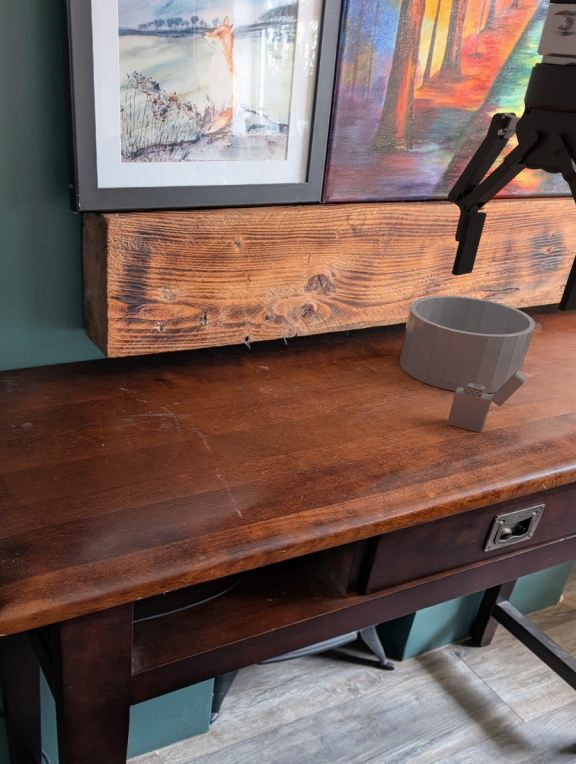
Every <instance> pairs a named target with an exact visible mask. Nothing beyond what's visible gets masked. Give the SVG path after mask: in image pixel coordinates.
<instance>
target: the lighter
mask: <svg viewBox="0 0 576 764" xmlns="http://www.w3.org/2000/svg"><path fill="white" fill-rule="evenodd" d="M527 378H528V377H527V375H525V374H524V373H522V371H521V372H520V371H518V370H517V371H516V372H515V373H514V374H513V375H512V376H511V377H510V378H509V379H508V380H507V382H506V383H505V384H504V385H503V386H502V387H501V388H500V389H499V390H498V391H497V392H496V393H493V395H492V394H491V393H484V390H485V386H481V385H476V384H472V383H470V384H467V385H465V386H464V387H463V388H461V387H458V388H457V390H456V391H454V395H453V398H452V403H451V406H450V407H451V408H450V411H449V414H448V417H447V422H446V424H447V425H450V426H453V427H458V428H460V429H464V430H468V431H472V432H476V433H483V430H484V428H485V425H486V421H487V419H488V416H489V415H488V414H489V411H490V408H491V404H492V402H493V403H494V404H495V405H496V406H497V407H499V408H500V407H501V406H503V405H504V404H505V403H506V402H507V400H509V398H511V396H513V394H514V393H516V392H517V390H518V389H520V388H521V386H522V385H523V384H524V383H525V382H526V381H527Z"/></svg>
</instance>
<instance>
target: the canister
mask: <svg viewBox="0 0 576 764" xmlns="http://www.w3.org/2000/svg"><path fill="white" fill-rule="evenodd" d="M535 327H536V322H535V320H534V319H533V317H531V315H529V314H527V313H526V312H524V311H522V310H520V309H518V308H516V307H512V306H510V305H507V304H504V303H501V302H497V301H493V300H489V299H485V298H479V297H471V296H461V295H433V296H426V297H422V298H419V299H416V300H415V301H413V302H412V303H411V304H410V306H409V310H408V315H407V319H406V323H405V329H404V334H403V338H402V343H401V348H400V352H399V354H400V355H399V359H398V364H399V366H400V367H401V370H403V371H404V373H406V374H407V375H409V376H410V377H412V378H413V379H415V380H417V381H420V382H422V383H424V384H427V385H429V386H432V387H436V388H439V389H443V390H447V391H453V392H455V391H456V390H457V388H458V387H461V388H463V387H464V386H465V385H467V384H470V383H472V384H476V385H481V386H485V390H484V393H486V394H495V393H496V392H497V391H498V390H499V389H500V388H501V387H502V386H503V385H504V384H505V383H506V382H507V380H508V379H509V378H510V377H511V376H512V375H513V374H514V373H515V372H516V371H517V370H518V371H520V372H521V373H522V369H523V366H524V363H525V359H526V356H527V354H528V350H529V348H530V343H531V340H532V337H533V334H534V330H535Z"/></svg>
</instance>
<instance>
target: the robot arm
mask: <svg viewBox="0 0 576 764" xmlns="http://www.w3.org/2000/svg"><path fill="white" fill-rule="evenodd" d="M536 53H537V54H538V56H542V58H541V60H540V62H535V64H534V66H532V67H531V71H530V75H529V80H528V82H527V87H526V91H525V95H524V98H523V105H524V110H523V113H522V115H521V116H517V113H515V112H496V113H494V114H493V115H492V118H491V119H490V124H489V126H488V129H487V133H486V136H484V139H483V140H482V141H481V143H480V145H479V146H478V148H477V149H476V151H475V152H474V154H473V156H471V158H470V160H469V162H468V163H467V164H466V166H465V167H464V169H463V171H462V172H461V174H460V175H459V177H458V179H457V180H456V182H455V183H454V184H453V187H451V189H450V191H448V192H449V193H448V194H447V201H448V202H449V203H451V204H454V205H456V206H457V207H458V209H459V218H458V222H457V227H456V231H455V234H454V241H455V242H457V243H458V244H457V248H456V253H455V257H454V262H453V265H452V270H451V275H453V276H456V277H457V276H462V275H467V274H472V273H473V270H474V266H475V263H476V258H477V254H478V251H479V246H480V243H481V238H482V234H483V231H484V227H485V223H486V219H487V214H488V213H487V212H483V210H485V207H484V206H485V205H487V204H488V203H489V202H490V201H491V200H492V199H493V198H495V196H497V195H498V194H499V193H500V191H502V190H503V189H504V188H505V187H506V186H508V185H509V184H510V183H511V182H512V181H513V180H514V179H515V178H516V177H517V176H518V175H519V174H520V173H521V172H522V171H524V170H525V169H528V170H532V171H536V170H542V171H544V172H546V173H548V174H554V175H556V174H561V177H562V178H563V180H564V181H565V182H566V183H567V185H568V187H569V190H570V193H571V196H572V198H573V201H574V204H575V205H576V0H549V4H548V6H547V10H546V14H545V18H544V21H543V26H542V30H541V33H540V37H539V41H538V45H537V49H536ZM514 135H515V137H516V141H517V145H516V146H515V147H514V148H513V149H512V150H510V152H509V153H508V154H507V155H505V156H504V158H503V161H502V162H501V163H500V164H499V165H498V166H497V167H496V168H495V169H494V170H492V171H491V172H490V173H489V174H488V172H489V171H490V169H491V168H492V167H493V165H494V163H495V162H496V161H497V159H498V158H499V156H500V155H501V153H502V152H503V151H504V149H505V147H507V144H508V143H509V140H510V139H511V138H512V137H514ZM487 174H488V175H487ZM486 175H487V176H486ZM483 179H484V180H483ZM575 309H576V254H575V255H574V258H573V261H572V264H571V267H570V271H569V273H568V277H567V280H566V283H565V286H564V289H563V292H562V295H561V298H560V302H559V305H558V308H557V310H559V311H562V312H567V311H572V310H575Z"/></svg>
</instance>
